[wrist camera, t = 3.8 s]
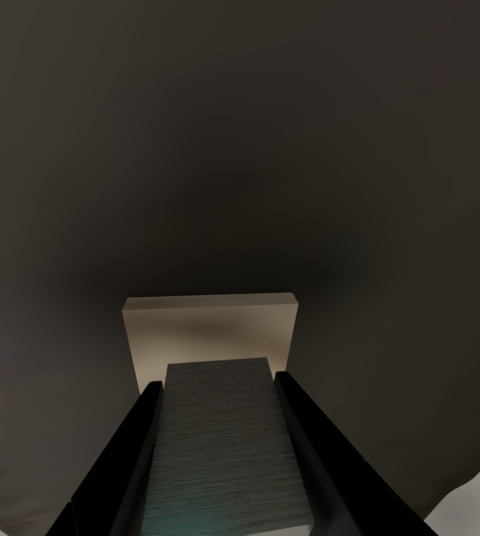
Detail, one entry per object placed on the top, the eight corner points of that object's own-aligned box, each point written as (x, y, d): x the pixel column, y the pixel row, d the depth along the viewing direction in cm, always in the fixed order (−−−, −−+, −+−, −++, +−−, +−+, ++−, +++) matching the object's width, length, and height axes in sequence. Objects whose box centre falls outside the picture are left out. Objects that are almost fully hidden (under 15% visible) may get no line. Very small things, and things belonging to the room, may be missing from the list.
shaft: (245, 502, 17) (260, 632, 12) (186, 511, 16) (179, 651, 12) (266, 356, 10) (314, 522, 6) (167, 363, 10) (137, 553, 5)
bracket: (262, 455, 25) (297, 641, 16) (161, 468, 24) (135, 679, 14) (292, 292, 16) (418, 513, 6) (127, 297, 14) (-11, 588, 5)
